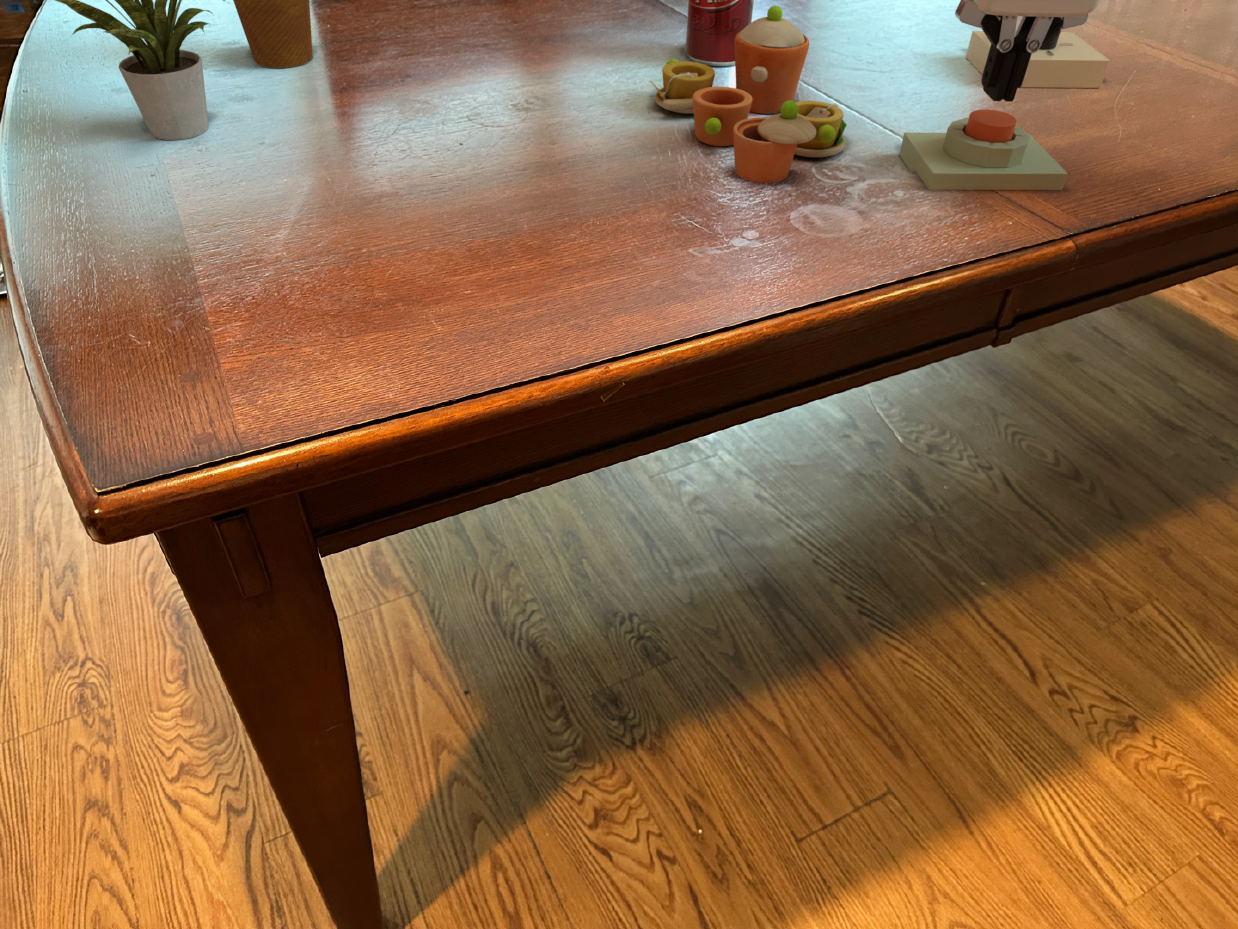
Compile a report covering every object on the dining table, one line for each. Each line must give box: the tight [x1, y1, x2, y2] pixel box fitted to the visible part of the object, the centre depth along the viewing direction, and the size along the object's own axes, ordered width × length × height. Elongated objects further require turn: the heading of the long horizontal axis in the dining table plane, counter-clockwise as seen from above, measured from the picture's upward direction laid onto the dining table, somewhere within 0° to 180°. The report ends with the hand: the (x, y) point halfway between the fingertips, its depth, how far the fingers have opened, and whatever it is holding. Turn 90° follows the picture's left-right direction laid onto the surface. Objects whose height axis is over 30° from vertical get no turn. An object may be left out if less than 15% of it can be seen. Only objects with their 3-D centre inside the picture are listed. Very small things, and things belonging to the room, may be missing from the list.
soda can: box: [684, 0, 755, 67], centre depth 104 cm, size 7×7×12 cm
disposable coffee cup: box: [232, 0, 314, 69], centre depth 100 cm, size 10×10×12 cm
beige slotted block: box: [965, 30, 1111, 89], centre depth 106 cm, size 12×10×3 cm
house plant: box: [54, 0, 214, 141], centre depth 84 cm, size 14×14×16 cm
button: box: [965, 108, 1018, 143], centre depth 82 cm, size 4×4×2 cm
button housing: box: [898, 117, 1068, 191], centre depth 84 cm, size 12×9×4 cm
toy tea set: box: [649, 5, 848, 184], centre depth 88 cm, size 26×16×10 cm, turn 17°
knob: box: [1040, 29, 1062, 50], centre depth 104 cm, size 4×4×5 cm
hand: (997, 95), depth 81 cm, fingers closed
